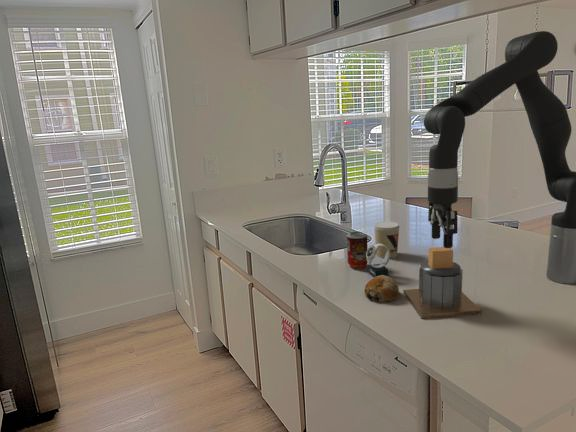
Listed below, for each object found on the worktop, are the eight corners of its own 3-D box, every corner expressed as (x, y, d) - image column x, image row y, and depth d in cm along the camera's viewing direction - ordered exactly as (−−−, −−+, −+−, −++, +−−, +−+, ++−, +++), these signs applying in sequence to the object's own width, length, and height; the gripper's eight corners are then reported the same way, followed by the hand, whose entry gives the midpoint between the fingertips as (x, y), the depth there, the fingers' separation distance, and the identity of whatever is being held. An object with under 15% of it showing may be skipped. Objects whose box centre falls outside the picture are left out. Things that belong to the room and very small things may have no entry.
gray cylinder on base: (455, 289, 128) (457, 258, 126) (481, 314, 113) (483, 278, 110) (403, 293, 128) (403, 261, 126) (421, 318, 112) (421, 282, 110)
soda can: (352, 271, 148) (352, 237, 145) (344, 264, 154) (343, 232, 152) (371, 268, 150) (370, 234, 147) (362, 261, 156) (361, 229, 153)
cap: (451, 266, 123) (451, 242, 122) (466, 280, 113) (467, 253, 112) (415, 269, 123) (415, 244, 121) (428, 283, 113) (428, 256, 111)
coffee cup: (391, 260, 156) (391, 229, 153) (369, 256, 162) (369, 225, 159) (403, 253, 162) (403, 223, 159) (382, 249, 168) (381, 220, 166)
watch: (363, 274, 144) (363, 243, 142) (386, 271, 146) (385, 240, 143) (370, 280, 139) (369, 248, 136) (393, 277, 141) (393, 245, 138)
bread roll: (400, 312, 125) (410, 287, 124) (371, 303, 121) (382, 278, 120) (383, 298, 134) (392, 275, 133) (356, 290, 130) (365, 266, 130)
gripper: (468, 188, 105) (466, 250, 109) (446, 179, 119) (445, 234, 123) (438, 190, 105) (437, 252, 109) (419, 181, 119) (419, 236, 123)
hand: (441, 242), depth 116 cm, fingers open, 8 cm apart
